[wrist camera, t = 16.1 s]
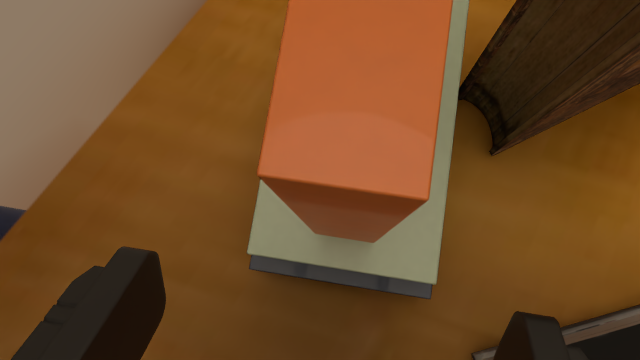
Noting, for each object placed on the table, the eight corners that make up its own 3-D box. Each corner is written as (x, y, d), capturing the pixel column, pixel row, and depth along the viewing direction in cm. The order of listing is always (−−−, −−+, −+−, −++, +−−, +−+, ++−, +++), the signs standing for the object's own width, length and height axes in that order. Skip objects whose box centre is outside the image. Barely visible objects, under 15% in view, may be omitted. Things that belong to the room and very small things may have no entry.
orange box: (314, 233, 27) (255, 175, 9) (349, 13, 29) (355, -363, 12) (374, 243, 27) (429, 201, 9) (405, 20, 29) (496, -356, 12)
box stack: (262, 268, 36) (234, 269, 27) (304, 29, 39) (292, -40, 30) (418, 294, 35) (443, 304, 26) (448, 47, 38) (479, -19, 29)
